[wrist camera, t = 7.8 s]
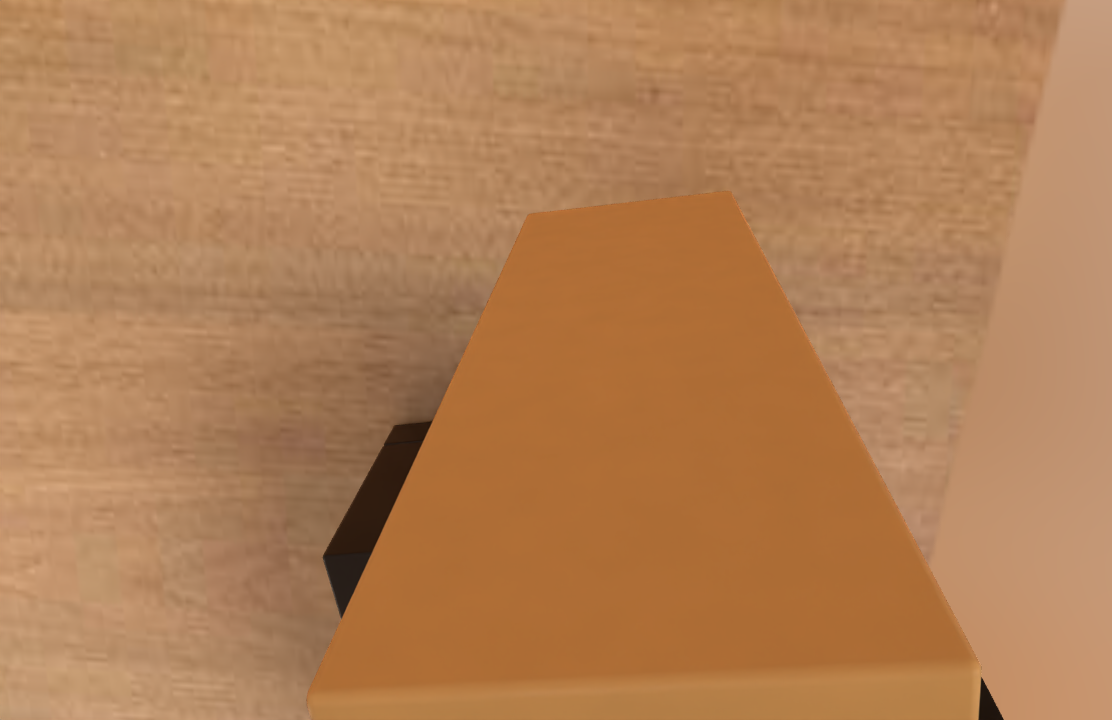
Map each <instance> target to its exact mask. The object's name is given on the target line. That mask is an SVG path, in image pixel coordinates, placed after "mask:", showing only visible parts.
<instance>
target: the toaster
mask: <svg viewBox="0 0 1112 720" xmlns="http://www.w3.org/2000/svg"><path fill="white" fill-rule="evenodd" d="M431 424H432V422H427V423H416V424H405V425H396V426H394V427H393V429H392V430H391V432H390V434H389V436H388V438H387V440H386V441H385V443H384V446H383V447H382V449H381V451H380V453H379V454H378V456H377V458H376V460H375V462H374V463H373V465H372V467H371V469H370V471H369V473H368V474H367V476H366V478H365V480H364V482H363V484H362V485H361V487H360V489H359V491H358V493H357V495H356V496H355V498H354V500H353V502H352V504H351V505H350V507H349V509H348V511H347V513H346V515H345V516H344V518H343V520H342V522H341V524H340V526H339V527H338V529H337V531H336V533H335V535H334V536H333V538H332V540H331V542H330V544H329V546H328V547H327V549H326V551H325V553H324V555H323V560H324V564H325V567H326V570H327V574H328V577H329V580H330V584H331V587H332V590H333V594H334V597H335V600H336V604H337V607H338V610H339V613H340V617H341V619H342V617H343V615H344V613H345V610H346V608H347V606H348V604H349V602H350V600H351V597H352V595H353V593H354V591H355V589H356V586H357V584H358V582H359V580H360V578H361V576H362V573H363V571H364V569H365V567H366V565H367V563H368V560H369V558H370V556H371V554H372V552H373V550H374V547H375V545H376V543H377V541H378V539H379V537H380V534H381V532H382V530H383V528H384V526H385V524H386V521H387V519H388V517H389V515H390V513H391V511H392V508H393V506H394V504H395V502H396V500H397V498H398V495H399V493H400V491H401V489H402V487H403V484H404V482H405V480H406V478H407V476H408V474H409V471H410V469H411V467H412V465H413V463H414V461H415V458H416V456H417V454H418V452H419V450H420V448H421V445H422V443H423V441H424V439H425V437H426V435H427V432H428V430H429V428H430V426H431Z"/></svg>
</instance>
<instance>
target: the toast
mask: <svg viewBox="0 0 1112 720" xmlns="http://www.w3.org/2000/svg"><path fill="white" fill-rule="evenodd" d="M981 670H982V667H981V665H980V663H979V661H978V659H977V657H976V655H975V653H974V651H973V650H972V647H971V646H970V644H969V642H968V640H967V638H966V636H965V634H964V632H963V631H962V628H961V627H960V625H959V623H958V621H957V619H956V617H955V615H954V613H953V611H952V610H951V608H950V606H949V604H948V602H947V600H946V598H945V596H944V594H943V592H942V591H941V589H940V587H939V585H938V583H937V581H936V579H935V577H934V576H933V574H932V572H931V570H930V568H929V566H928V564H927V562H926V560H925V558H924V556H923V555H922V553H921V551H920V549H919V547H918V545H917V543H916V541H915V539H914V538H913V536H912V534H911V532H910V530H909V528H908V526H907V524H906V522H905V520H904V519H903V517H902V515H901V513H900V511H899V509H898V507H897V505H896V503H895V502H894V500H893V498H892V496H891V494H890V492H889V490H888V488H887V486H886V484H885V483H884V481H883V479H882V477H881V475H880V473H879V471H878V469H877V467H876V466H875V464H874V462H873V460H872V458H871V456H870V454H869V452H868V450H867V448H866V447H865V445H864V443H863V441H862V439H861V437H860V435H859V433H858V431H857V430H856V428H855V426H854V424H853V422H852V420H851V418H850V416H849V414H848V412H847V411H846V409H845V407H844V405H843V403H842V401H841V399H840V397H839V395H838V394H837V392H836V390H835V388H834V386H833V384H832V382H831V380H830V378H829V376H828V375H827V373H826V371H825V369H824V367H823V365H822V363H821V361H820V359H819V358H818V356H817V354H816V352H815V350H814V348H813V346H812V344H811V342H810V340H809V339H808V337H807V335H806V333H805V331H804V329H803V327H802V325H801V323H800V322H799V320H798V318H797V316H796V314H795V312H794V310H793V308H792V306H791V304H790V303H789V301H788V299H787V297H786V295H785V293H784V291H783V289H782V287H781V286H780V284H779V282H778V280H777V278H776V276H775V274H774V272H773V270H772V268H771V267H770V265H769V263H768V261H767V259H766V257H765V255H764V253H763V251H762V250H761V248H760V246H759V244H758V242H757V240H756V238H755V236H754V234H753V232H752V231H751V229H750V227H749V225H748V223H747V221H746V219H745V217H744V215H743V214H742V212H741V210H740V208H739V206H738V204H737V202H736V200H735V198H734V196H733V195H732V193H731V192H730V191H722V192H714V193H705V194H697V195H688V196H679V197H671V198H662V199H653V200H645V201H636V202H628V203H619V204H610V205H602V206H593V207H584V208H576V209H567V210H558V211H550V212H541V213H533V214H529V215H527V218H526V220H525V222H524V224H523V226H522V228H521V231H520V233H519V235H518V237H517V239H516V241H515V244H514V246H513V248H512V250H511V252H510V254H509V257H508V259H507V261H506V263H505V265H504V267H503V270H502V272H501V274H500V276H499V278H498V280H497V283H496V285H495V287H494V289H493V291H492V294H491V296H490V298H489V300H488V302H487V304H486V307H485V309H484V311H483V313H482V315H481V317H480V320H479V322H478V324H477V326H476V328H475V330H474V333H473V335H472V337H471V339H470V341H469V343H468V346H467V348H466V350H465V352H464V354H463V356H462V359H461V361H460V363H459V365H458V367H457V369H456V372H455V374H454V376H453V378H452V380H451V382H450V385H449V387H448V389H447V391H446V393H445V396H444V398H443V400H442V402H441V404H440V406H439V409H438V411H437V413H436V415H435V417H434V419H433V422H432V424H431V426H430V428H429V430H428V432H427V435H426V437H425V439H424V441H423V443H422V445H421V448H420V450H419V452H418V454H417V456H416V458H415V461H414V463H413V465H412V467H411V469H410V471H409V474H408V476H407V478H406V480H405V482H404V484H403V487H402V489H401V491H400V493H399V495H398V498H397V500H396V502H395V504H394V506H393V508H392V511H391V513H390V515H389V517H388V519H387V521H386V524H385V526H384V528H383V530H382V532H381V534H380V537H379V539H378V541H377V543H376V545H375V547H374V550H373V552H372V554H371V556H370V558H369V560H368V563H367V565H366V567H365V569H364V571H363V573H362V576H361V578H360V580H359V582H358V584H357V586H356V589H355V591H354V593H353V595H352V597H351V600H350V602H349V604H348V606H347V608H346V610H345V613H344V615H343V617H342V619H341V621H340V623H339V626H338V628H337V630H336V632H335V634H334V636H333V639H332V641H331V643H330V645H329V647H328V649H327V652H326V654H325V656H324V658H323V660H322V662H321V665H320V667H319V669H318V671H317V673H316V675H315V678H314V680H313V682H312V684H311V686H310V689H309V691H308V695H307V708H308V711H309V714H310V718H311V720H978V716H979V701H980V687H981Z"/></svg>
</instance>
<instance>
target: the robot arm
mask: <svg viewBox="0 0 1112 720" xmlns="http://www.w3.org/2000/svg"><path fill="white" fill-rule="evenodd" d="M978 720H1004V719H1003V717H1002V715H1001V714H1000V712H999V710H998V708H997V706H996V704H995V702H994V700H993V698H992V696H991V694H990V692H989V690H988V689H987V686H986V685H985V683H984V681H983V679H982V677H981V687H980V701H979V716H978Z"/></svg>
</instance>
